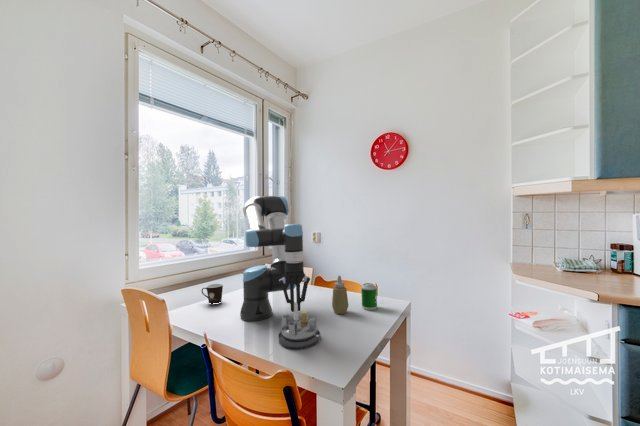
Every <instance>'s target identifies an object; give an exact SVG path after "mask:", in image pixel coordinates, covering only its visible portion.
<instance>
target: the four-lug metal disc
mask: <svg viewBox="0 0 640 426" xmlns="http://www.w3.org/2000/svg"><path fill="white" fill-rule="evenodd" d="M317 329H318V327H317V318H316V317H311V318H310V319H309V312H308V311H305V310H302V311H301V312H300V320H294V321H290V316H289V315H288V314H287V315H286V314H284V315H283V316H282V317H281V331H282V337H283V338H284V339H286V340H288V341H293V342H300V341H306V340H309V339H311V338H313V337H315V335H316V334H317Z"/></svg>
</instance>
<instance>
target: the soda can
mask: <svg viewBox="0 0 640 426" xmlns="http://www.w3.org/2000/svg"><path fill="white" fill-rule="evenodd" d="M360 287H361V307H362V308H363V310H366V311H375V310H376V309H377V307H378V293H377V291H378V290H377V286H376V284H374V283H372V282H371V283H370V282H366V283H363V284H362V285H361V286H360Z"/></svg>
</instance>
